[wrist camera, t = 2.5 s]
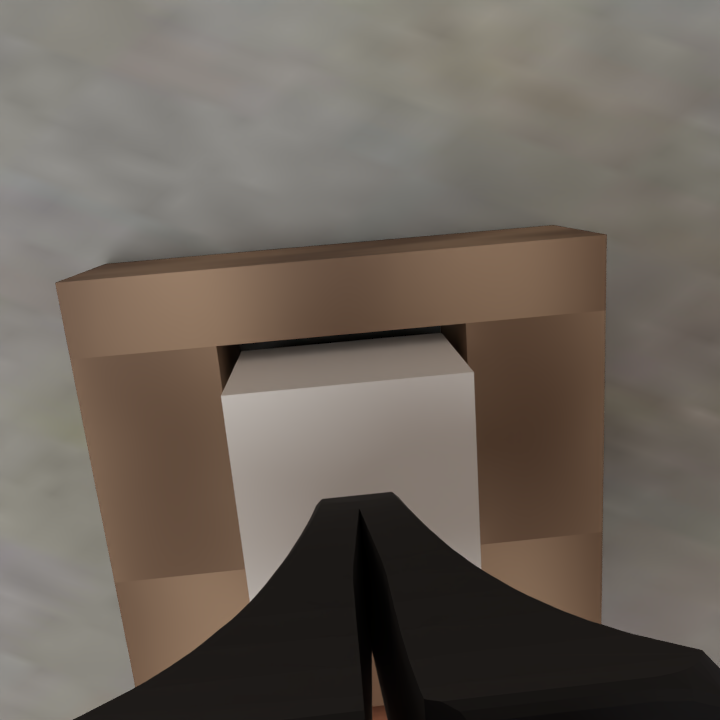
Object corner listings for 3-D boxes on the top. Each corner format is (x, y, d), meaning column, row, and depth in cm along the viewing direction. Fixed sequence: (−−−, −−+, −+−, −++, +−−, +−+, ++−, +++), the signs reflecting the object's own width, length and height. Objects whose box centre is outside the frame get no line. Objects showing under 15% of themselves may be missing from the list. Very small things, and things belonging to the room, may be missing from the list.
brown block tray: (552, 225, 18) (606, 234, 15) (556, 786, 23) (597, 890, 20) (105, 263, 18) (55, 282, 14) (205, 828, 23) (186, 940, 19)
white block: (441, 332, 16) (474, 372, 13) (450, 513, 17) (482, 592, 14) (241, 350, 16) (220, 395, 13) (265, 532, 17) (251, 617, 14)
